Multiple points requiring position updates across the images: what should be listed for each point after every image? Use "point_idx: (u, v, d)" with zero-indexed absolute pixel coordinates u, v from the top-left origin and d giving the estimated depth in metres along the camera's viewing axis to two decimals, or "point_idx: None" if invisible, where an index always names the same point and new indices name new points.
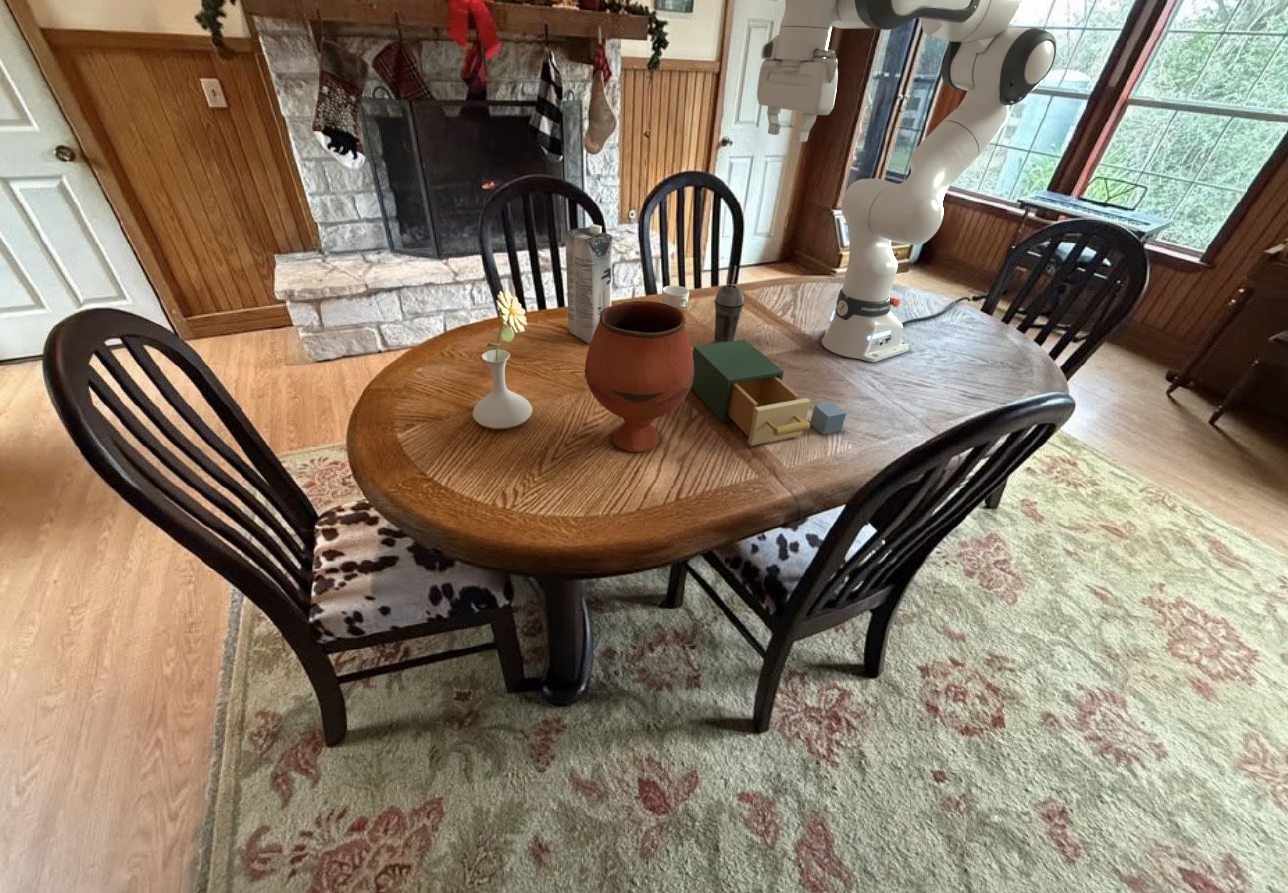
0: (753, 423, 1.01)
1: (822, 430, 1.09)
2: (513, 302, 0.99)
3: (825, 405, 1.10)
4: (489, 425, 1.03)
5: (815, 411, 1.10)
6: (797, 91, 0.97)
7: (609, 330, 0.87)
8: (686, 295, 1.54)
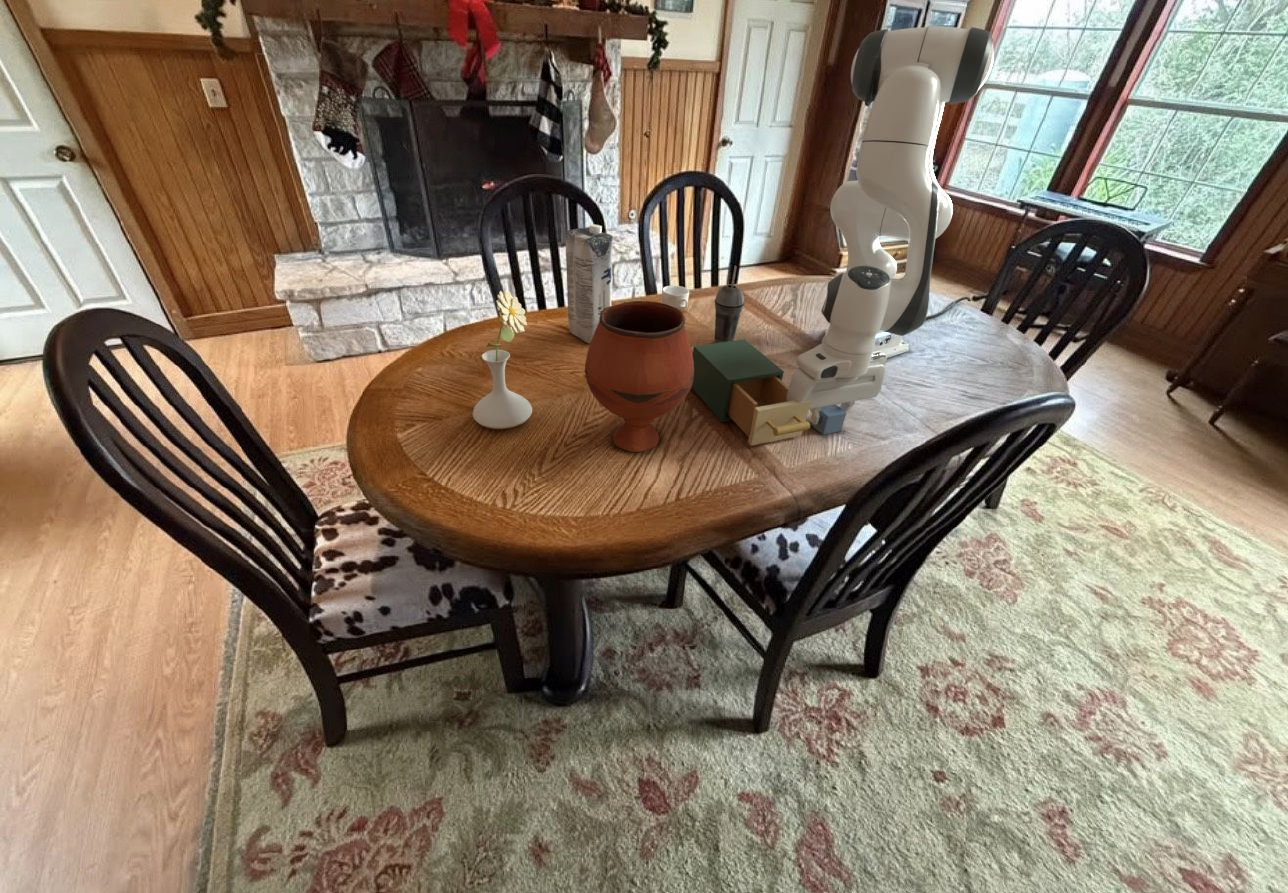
0: (753, 423, 1.01)
1: (822, 430, 1.09)
2: (513, 302, 0.99)
3: None
4: (489, 425, 1.03)
5: None
6: (857, 389, 1.05)
7: (609, 330, 0.87)
8: (686, 295, 1.54)
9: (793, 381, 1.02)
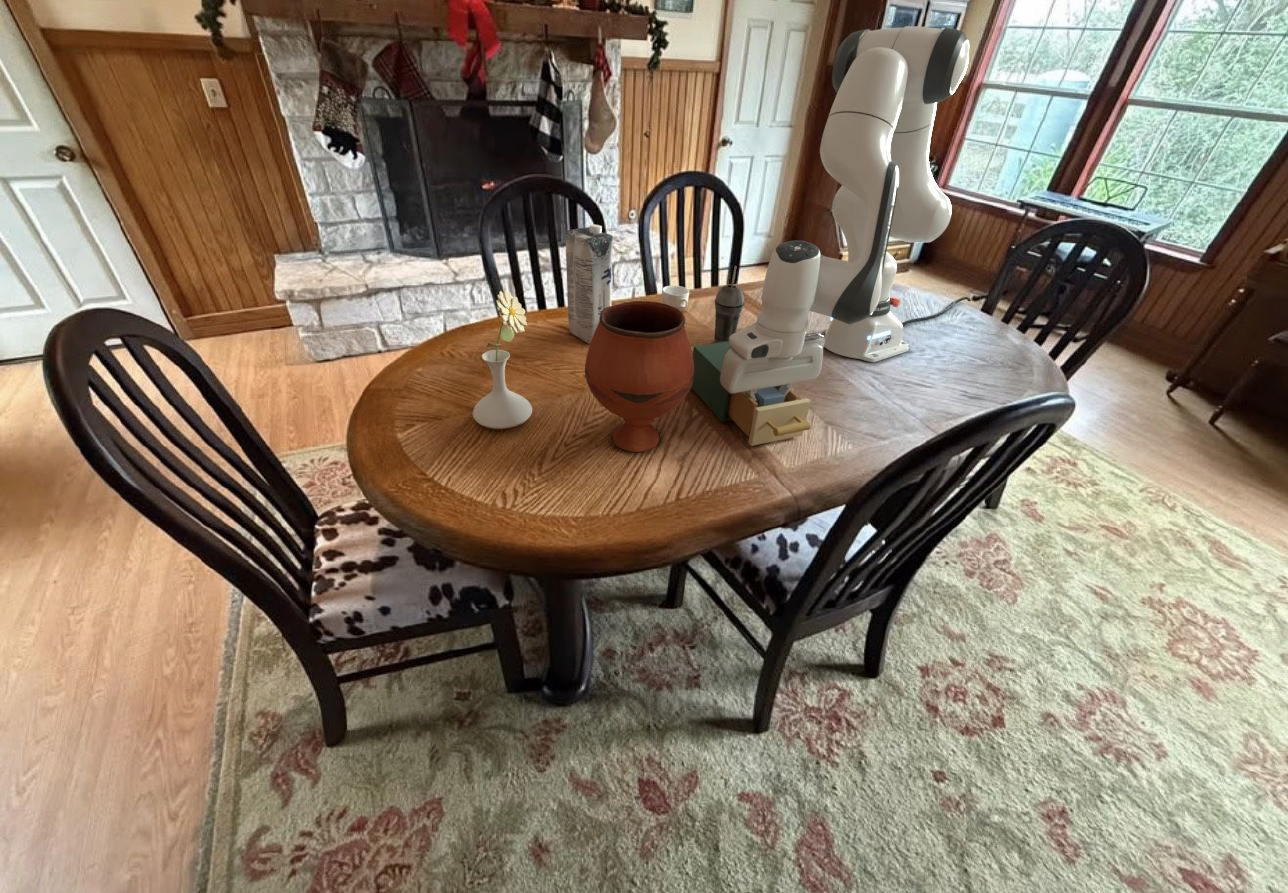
0: (753, 423, 1.01)
1: None
2: (513, 302, 0.99)
3: (764, 388, 1.06)
4: (489, 425, 1.03)
5: None
6: (794, 370, 1.02)
7: (609, 330, 0.87)
8: (686, 295, 1.54)
9: (725, 362, 0.98)
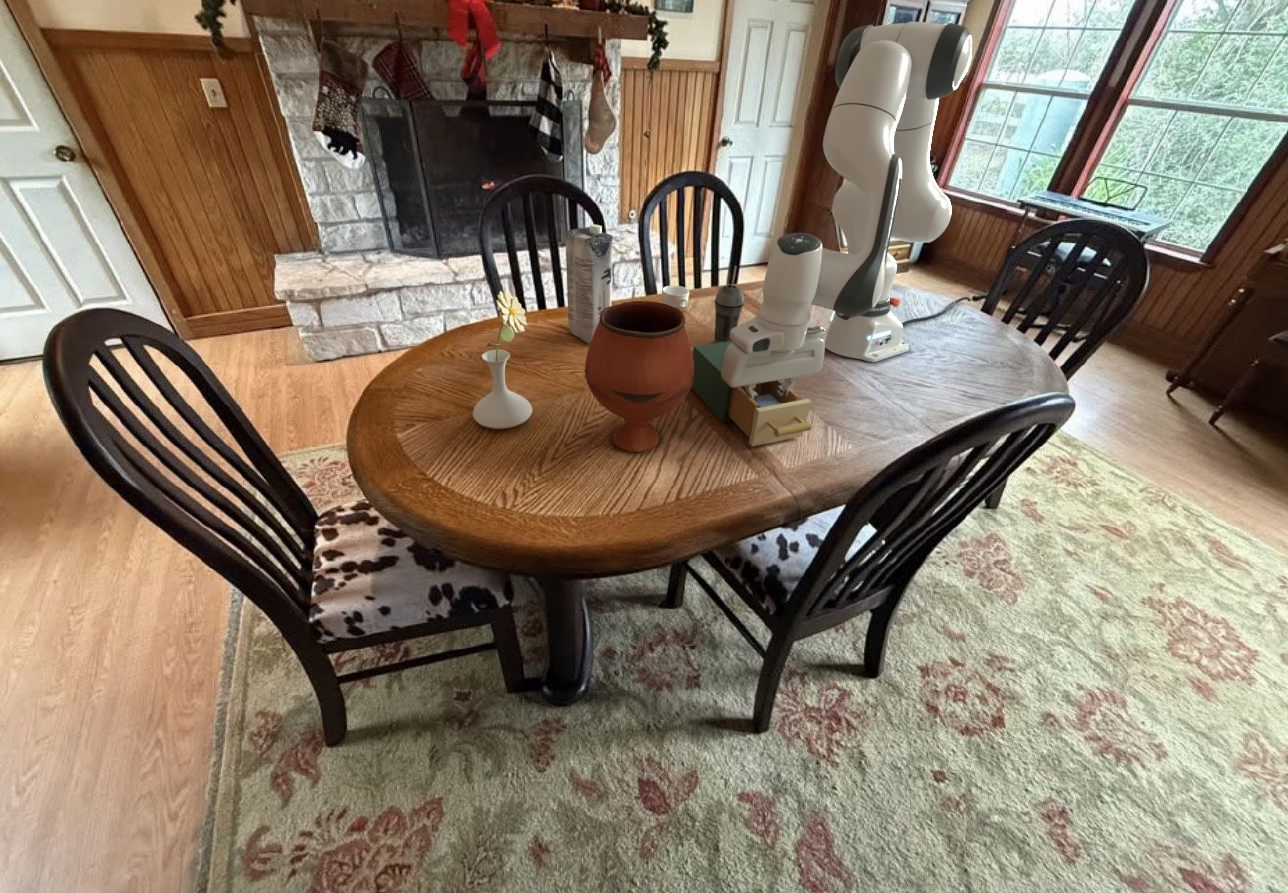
0: (754, 424, 1.01)
1: None
2: (513, 302, 0.99)
3: (761, 397, 1.07)
4: (489, 425, 1.03)
5: None
6: (795, 364, 1.01)
7: (609, 330, 0.87)
8: (686, 295, 1.54)
9: (726, 356, 0.98)
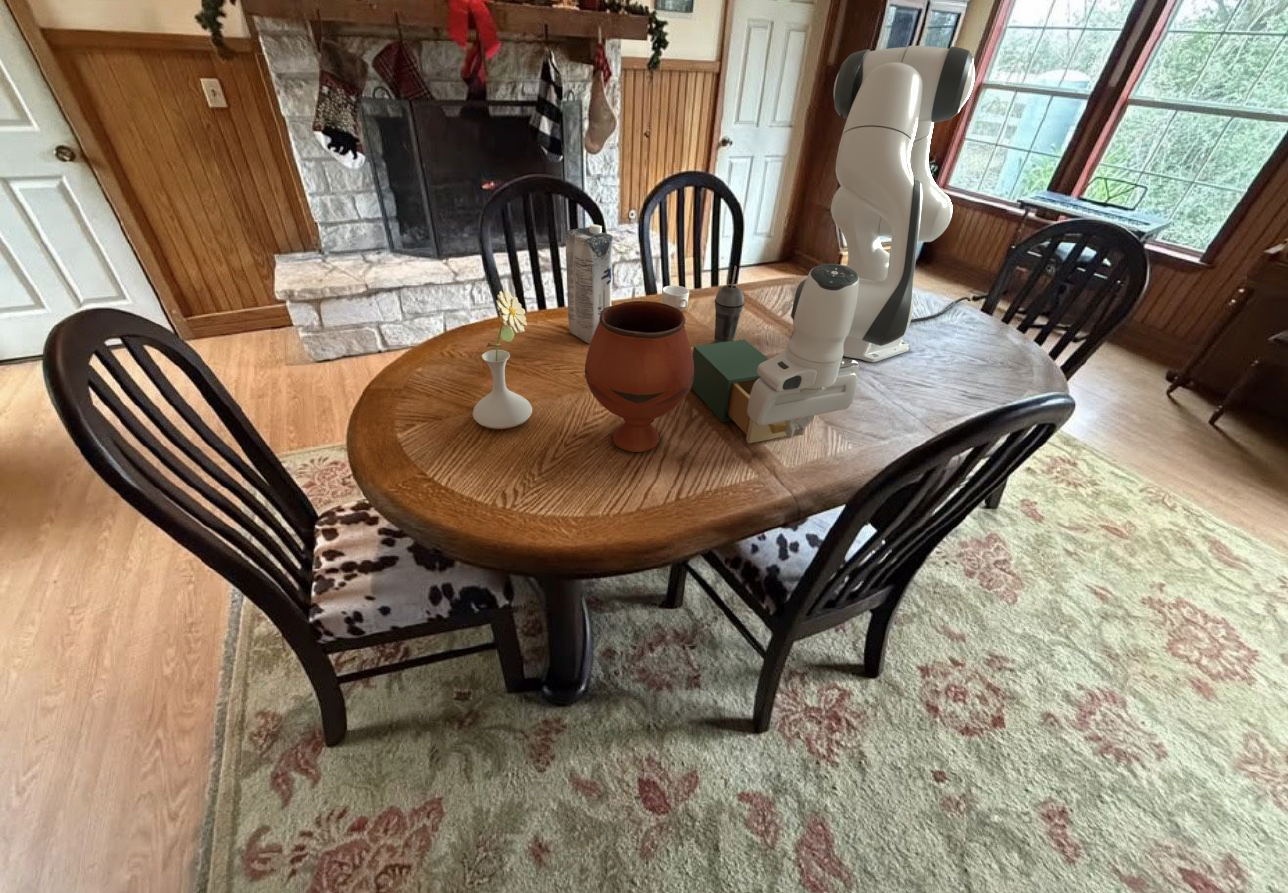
0: (751, 421, 1.01)
1: None
2: (513, 302, 0.99)
3: None
4: (489, 425, 1.03)
5: None
6: (826, 400, 0.95)
7: (609, 330, 0.87)
8: (686, 295, 1.54)
9: (753, 392, 0.92)
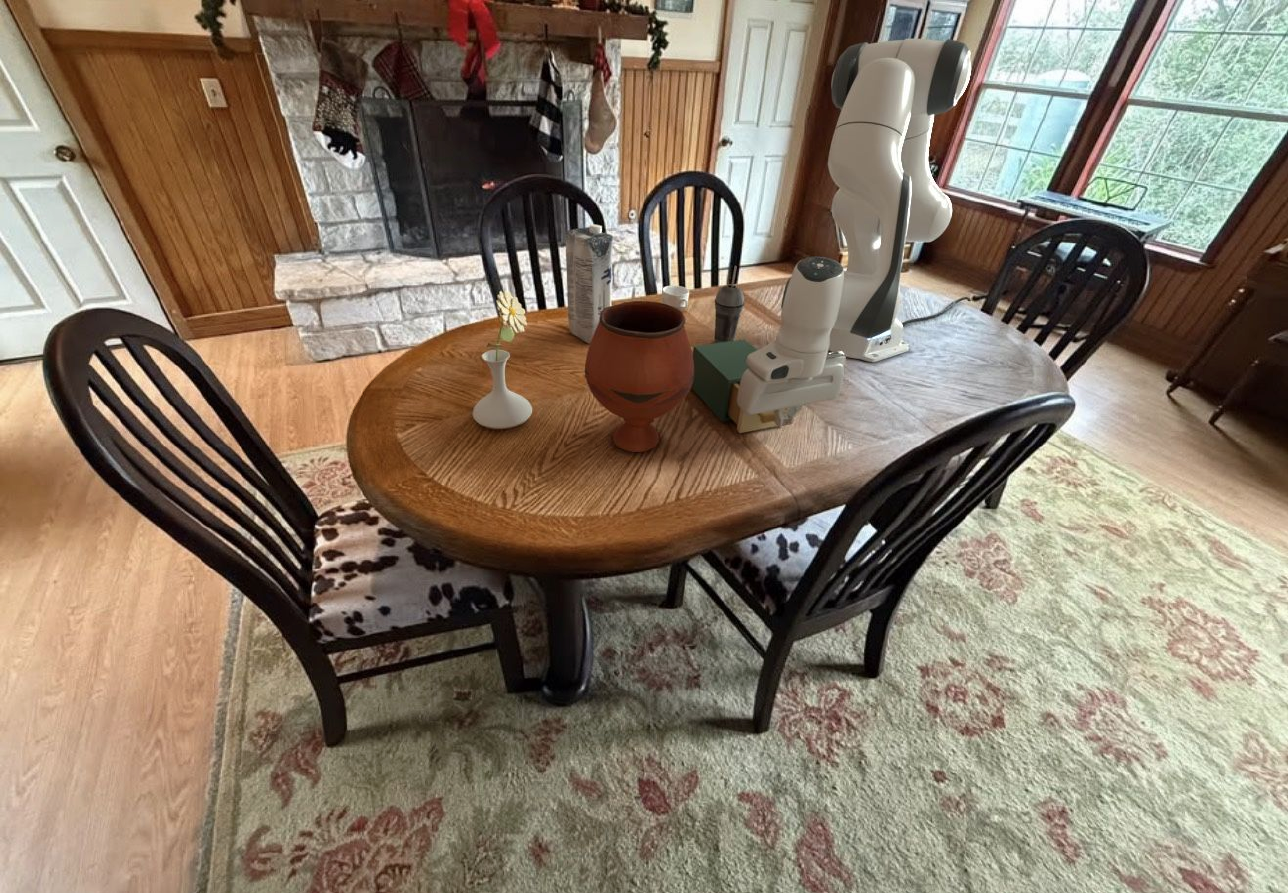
0: (741, 411, 1.04)
1: None
2: (513, 302, 0.99)
3: None
4: (489, 425, 1.03)
5: None
6: (813, 390, 0.98)
7: (609, 330, 0.87)
8: (686, 295, 1.54)
9: (742, 382, 0.94)
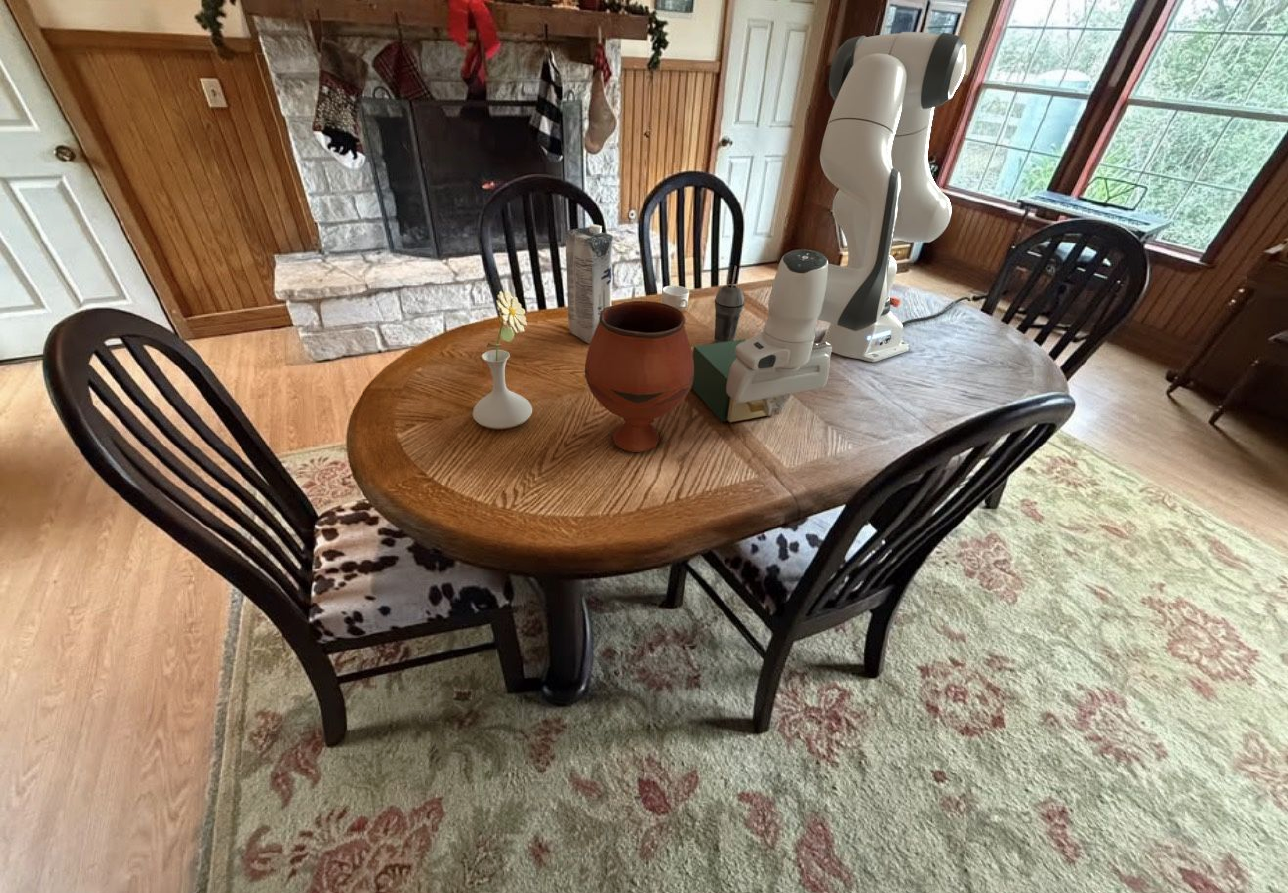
0: (731, 400, 1.07)
1: None
2: (513, 302, 0.99)
3: None
4: (489, 425, 1.03)
5: None
6: (800, 380, 1.01)
7: (609, 330, 0.87)
8: (686, 295, 1.54)
9: (731, 372, 0.97)
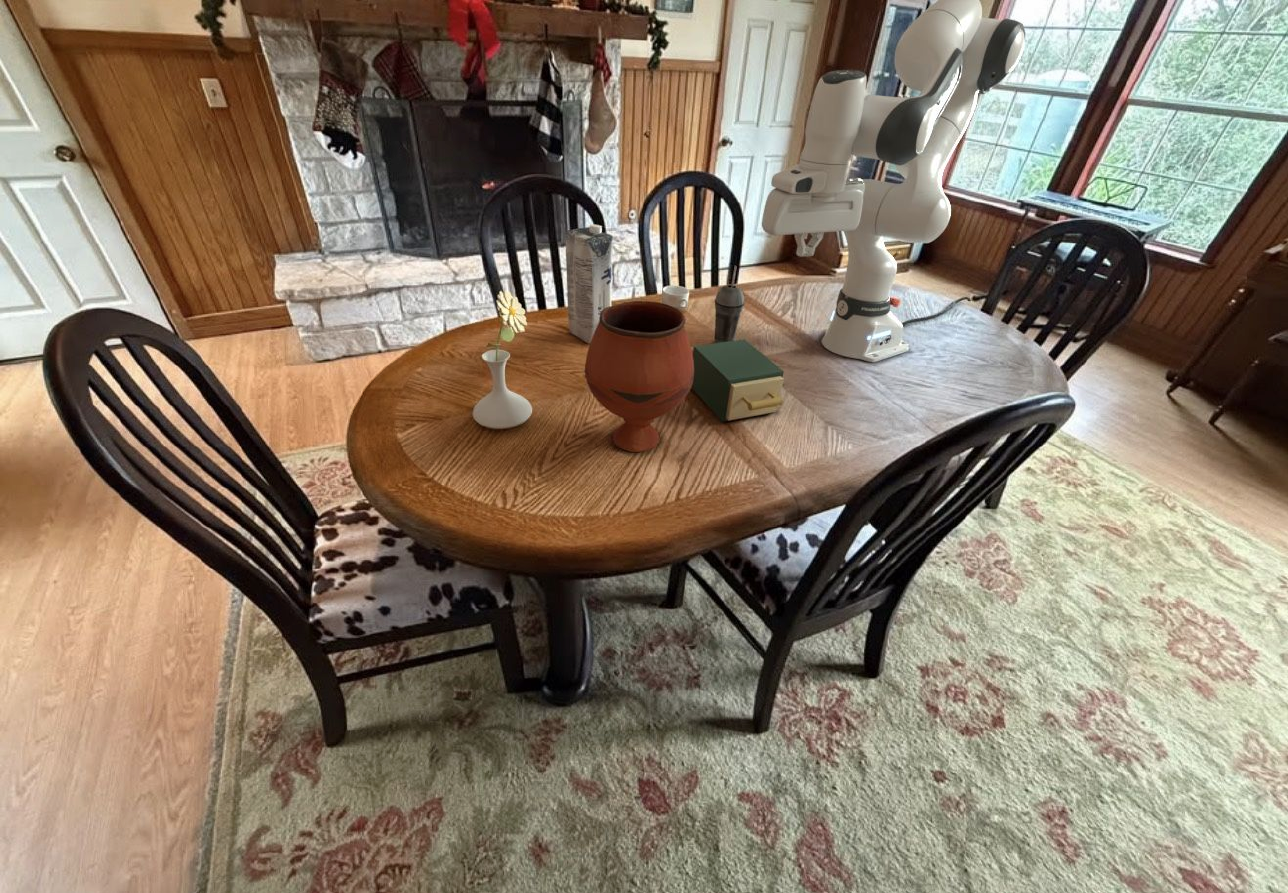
0: (729, 399, 1.08)
1: None
2: (513, 302, 0.99)
3: None
4: (489, 425, 1.03)
5: None
6: (834, 216, 1.03)
7: (609, 330, 0.87)
8: (686, 295, 1.54)
9: (767, 202, 1.00)
